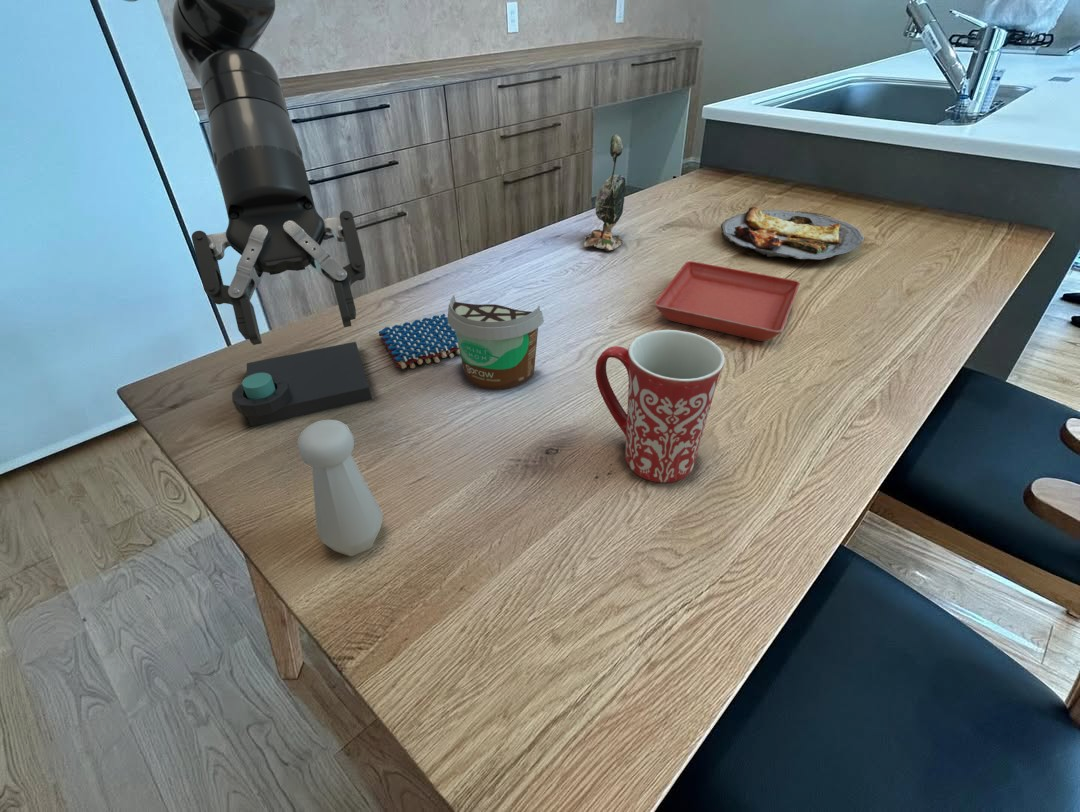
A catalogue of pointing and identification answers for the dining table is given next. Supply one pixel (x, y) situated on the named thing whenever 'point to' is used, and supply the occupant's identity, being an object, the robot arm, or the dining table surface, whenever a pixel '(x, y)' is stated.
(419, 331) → the woven mat
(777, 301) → the plant saucer
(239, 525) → the dining table surface
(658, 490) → the dining table surface
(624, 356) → the mug
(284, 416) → the scale
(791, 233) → the food plate
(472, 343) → the food container
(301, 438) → the salt shaker
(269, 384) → the button
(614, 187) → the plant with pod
